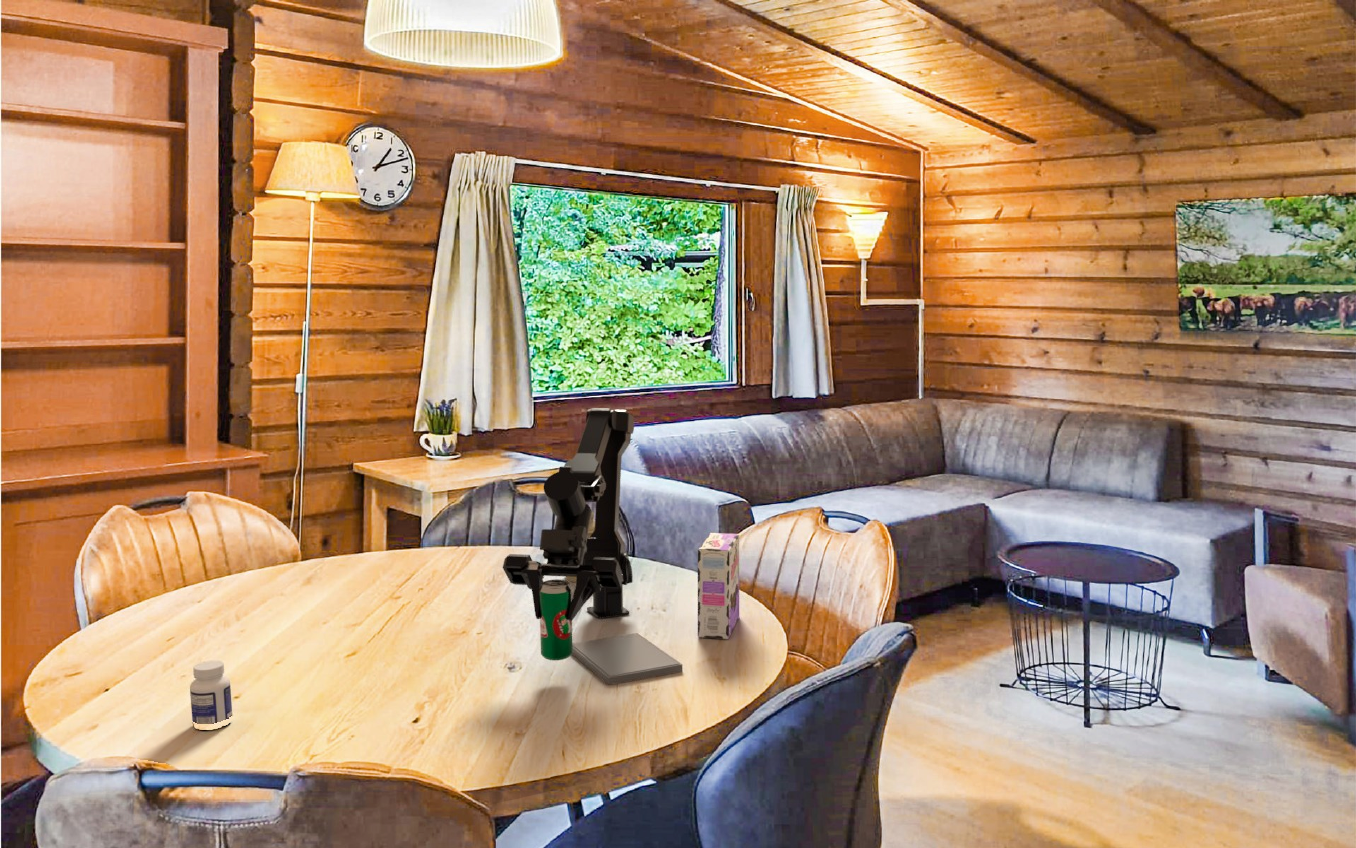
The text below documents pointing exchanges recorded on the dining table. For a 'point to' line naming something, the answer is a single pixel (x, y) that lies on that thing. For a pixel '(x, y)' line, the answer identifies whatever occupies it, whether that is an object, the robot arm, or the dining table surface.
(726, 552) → the candy box
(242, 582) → the dining table surface
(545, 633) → the soda can
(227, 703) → the pill bottle
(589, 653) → the slate board
